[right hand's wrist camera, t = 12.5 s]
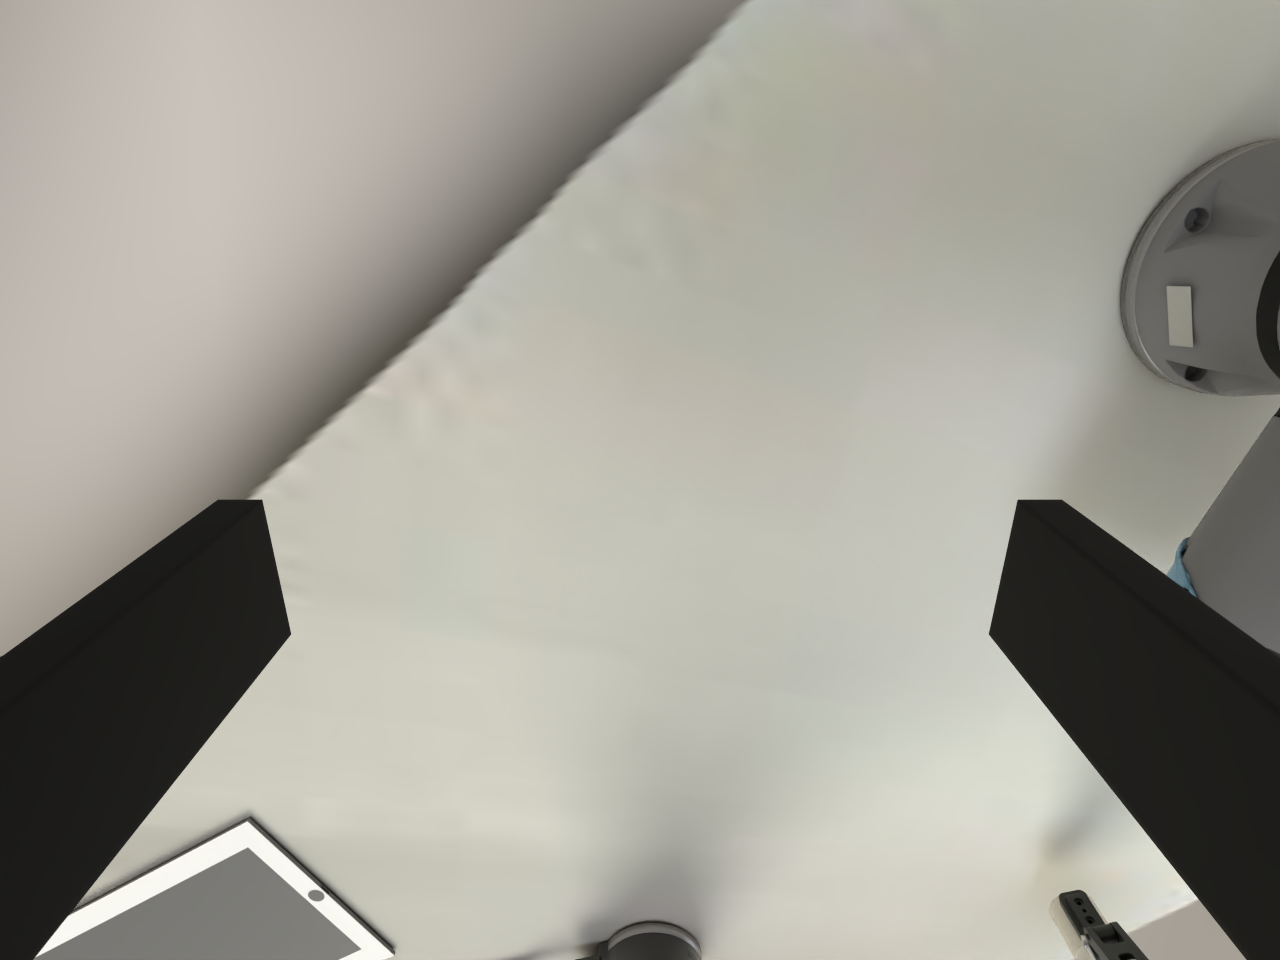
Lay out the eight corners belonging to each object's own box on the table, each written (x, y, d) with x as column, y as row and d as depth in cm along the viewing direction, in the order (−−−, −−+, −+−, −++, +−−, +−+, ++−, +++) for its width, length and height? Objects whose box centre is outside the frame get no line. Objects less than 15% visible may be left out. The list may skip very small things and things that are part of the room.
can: (1102, 899, 61) (1133, 947, 58) (1073, 926, 63) (1102, 974, 59) (1067, 885, 61) (1096, 932, 57) (1039, 912, 62) (1066, 960, 58)
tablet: (156, 1060, 75) (154, 1064, 75) (0, 947, 68) (-3, 952, 68) (395, 951, 69) (394, 955, 68) (248, 816, 62) (246, 820, 62)
